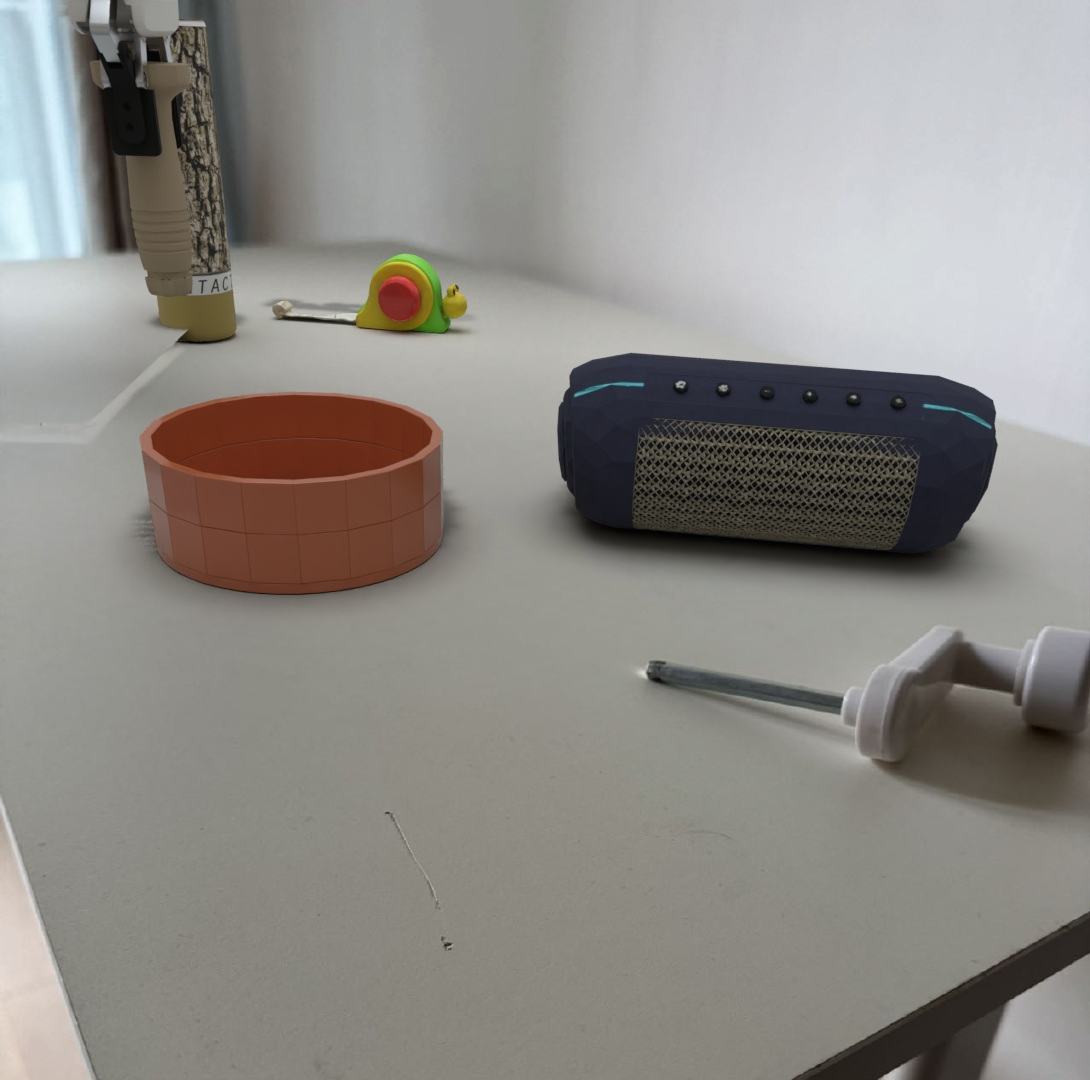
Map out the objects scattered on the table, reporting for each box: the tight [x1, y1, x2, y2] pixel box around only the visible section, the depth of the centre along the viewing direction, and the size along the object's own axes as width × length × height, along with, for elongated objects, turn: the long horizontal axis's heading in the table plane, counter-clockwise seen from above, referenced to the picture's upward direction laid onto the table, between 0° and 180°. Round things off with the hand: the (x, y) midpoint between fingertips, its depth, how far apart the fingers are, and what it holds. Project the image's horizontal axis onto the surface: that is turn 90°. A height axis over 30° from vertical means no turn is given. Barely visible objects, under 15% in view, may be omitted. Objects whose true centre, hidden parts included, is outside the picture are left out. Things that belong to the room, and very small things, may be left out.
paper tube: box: [119, 17, 238, 343], centre depth 98 cm, size 7×7×25 cm
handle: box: [89, 59, 192, 297], centre depth 81 cm, size 5×6×15 cm
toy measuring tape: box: [271, 253, 468, 334], centre depth 109 cm, size 6×19×7 cm, turn 80°
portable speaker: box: [556, 352, 999, 554], centre depth 65 cm, size 25×10×10 cm, turn 82°
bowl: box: [139, 391, 445, 595], centre depth 64 cm, size 16×16×6 cm
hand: (149, 148), depth 79 cm, fingers closed on handle, 4 cm apart
